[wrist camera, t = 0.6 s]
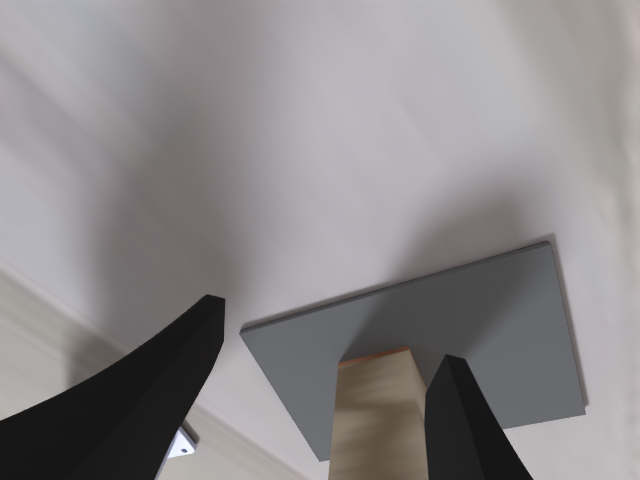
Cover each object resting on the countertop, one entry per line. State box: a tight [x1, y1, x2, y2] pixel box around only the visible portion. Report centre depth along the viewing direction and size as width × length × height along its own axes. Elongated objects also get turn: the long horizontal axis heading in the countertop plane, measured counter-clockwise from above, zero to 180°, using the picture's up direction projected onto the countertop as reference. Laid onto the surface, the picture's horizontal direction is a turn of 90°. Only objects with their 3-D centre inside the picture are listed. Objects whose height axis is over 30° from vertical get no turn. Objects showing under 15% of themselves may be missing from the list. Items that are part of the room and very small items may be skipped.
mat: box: [239, 241, 586, 462], centre depth 27 cm, size 20×14×1 cm
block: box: [328, 346, 429, 480], centre depth 24 cm, size 5×5×9 cm
